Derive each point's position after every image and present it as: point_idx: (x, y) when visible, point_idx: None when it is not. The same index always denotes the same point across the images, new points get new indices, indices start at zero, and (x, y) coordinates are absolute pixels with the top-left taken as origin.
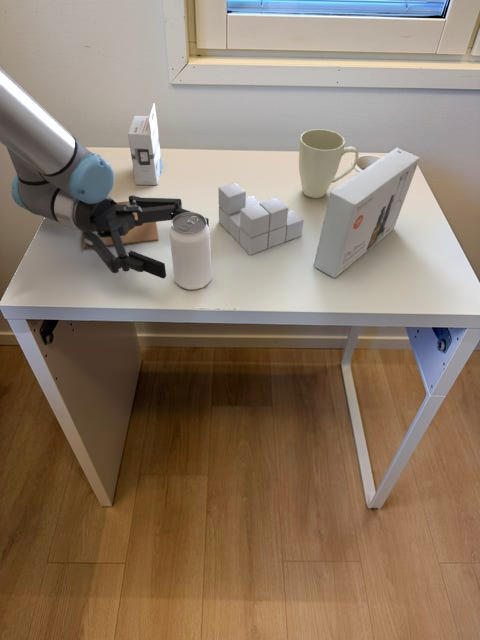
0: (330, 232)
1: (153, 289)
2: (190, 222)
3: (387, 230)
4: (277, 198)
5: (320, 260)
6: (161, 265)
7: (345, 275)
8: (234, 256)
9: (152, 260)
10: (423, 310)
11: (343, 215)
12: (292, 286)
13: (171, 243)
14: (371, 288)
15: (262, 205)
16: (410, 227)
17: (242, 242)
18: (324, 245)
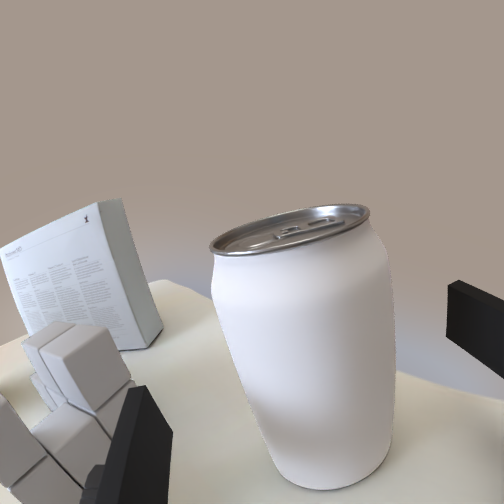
0: (127, 264)
1: (462, 452)
2: (279, 232)
3: None
4: (25, 340)
5: (145, 324)
6: (459, 280)
7: None
8: (176, 441)
9: (484, 297)
10: (177, 285)
11: (122, 222)
12: (207, 341)
13: (392, 300)
14: (164, 309)
15: (47, 342)
16: None
17: None
18: (134, 294)
